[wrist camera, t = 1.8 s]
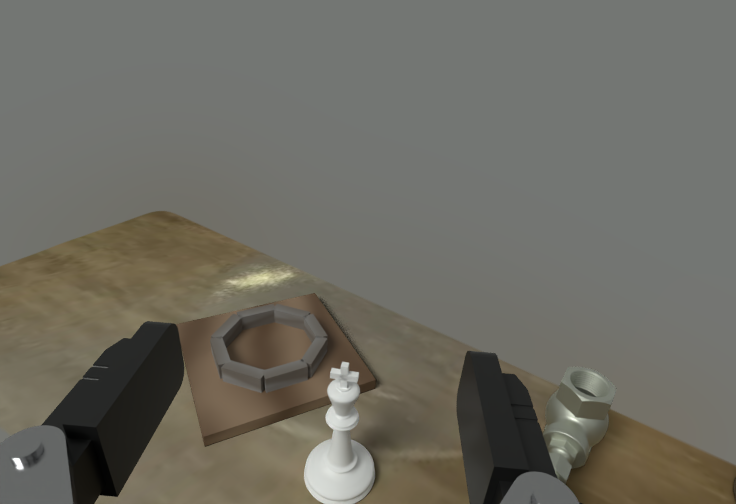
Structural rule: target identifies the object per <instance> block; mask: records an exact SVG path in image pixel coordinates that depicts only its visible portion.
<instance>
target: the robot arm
mask: <svg viewBox="0 0 736 504" xmlns="http://www.w3.org/2000/svg"><path fill="white" fill-rule="evenodd" d="M183 376H184V362H183V356H182V350H181V343H180V337H179V331H178V327H177V326H176V324H172V323H161V322H150V321H147V322H145V323H143V325H142V326H141V327H140V328H139V329H138V331H137V332H136V333H135V334H134V336H133V337H132V338H131V339H128V338H123V339H122V340H120V341H119V342H117V343H115V344H114V345H112V346H111V347H109V348H108V349H106V350H105V351H104V352H103V354H102V355H101V356H100V357H99V358H98V359H97V361H96V362H95V363H94V364H93V367H91V368H90V369H89V370H88V371H87V372H86V373H85V375H84V376H83V379H82V380H79V382H78V383H77V384H76V385H75V386H74V388H73V389H72V390H71V391H70V392H69V393H68V395H67V396H66V397H65V398H64V399H63V400H62V402H61V403H60V404H59V405H58V406H57V407H56V409H55V410H54V411H53V412H52V413H51V415H50V416H49V417H48V418H47V419H46V420H45V422H44V423H43V424H42V425H41V426H35V427H31V428H27V429H24V430H22V431H19V432H17V433H15V434H13V435H12V436H10V437H8V438H7V439H5V440H4V441H3V442H1V443H0V504H94V503H95V501H96V500H97V498H98V496H99V495H104V496H115V497H118V495H119V494H120V492H121V490H122V488H123V487H124V485H125V483H126V481H127V480H128V478H129V476H130V474H131V473H132V471H133V469H134V467H135V466H136V464H137V462H138V460H139V459H140V457H141V455H142V453H143V452H144V450H145V448H146V446H147V445H148V443H149V441H150V439H151V438H152V436H153V434H154V432H155V431H156V429H157V427H158V425H159V424H160V422H161V420H162V418H163V417H164V415H165V413H166V411H167V410H168V408H169V406H170V404H171V403H172V401H173V399H174V397H175V396H176V394H177V392H178V390H179V389H180V386H181V384H182V381H183ZM457 418H458V425H459V432H460V439H461V446H462V453H463V460H464V467H465V474H466V481H467V487H468V494H469V501H470V504H580V503H579V502H578V500H577V498H576V496H575V495H574V493H573V492H572V491H571V490H570V489H569V488H568V487H567V486H566V485H565V484H564V483H563V482H561V481H560V480H559V479H558V478H557V475H556V473H555V470H554V467H553V464H552V461H551V458H550V455H549V452H548V449H547V446H546V443H545V440H544V437H543V434H542V431H541V428H540V425H539V423H538V422H537V420H538V419H537V416H536V413H535V410H534V409H533V404H532V402H531V399H530V396H529V393H528V390H527V388H526V387H525V386H524V385H523V384H522V382H521V381H520V380H519V379H518V378H517V376H516V375H515V374H505V373H502V372H501V368H500V365H499V361H498V358H497V355H496V354H495V353H486V352H475V351H467V353H466V356H465V361H464V365H463V370H462V374H461V379H460V384H459V388H458V394H457ZM733 490H734V494H735V499H736V478H735V480H734V489H733Z"/></svg>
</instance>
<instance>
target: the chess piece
mask: <svg viewBox="0 0 736 504" xmlns="http://www.w3.org/2000/svg"><path fill="white" fill-rule="evenodd" d="M330 378H332V379H335V380H333V381H332V382H331V383H330V384H329V386H328V389H327V393H328V396H329V399H330V401H331V403H332V406H331V407H330V408H329V409H328V411H327V413H326V422H327V424H328V425H329V426H330V427H331V428H332V429H334V430H333V435H332V439H329V440H326V441H324V442H322V443H320V444H319V445H317V446H316V447H315V448H314V449H313V450H312V451H311V453H310V454H309V456H308V458H307V461H306V465H305V470H304V480H305V484H306V486H307V489H308V490H309V492H310V493H311V494H312V496H313V497H314V498H316V499H317V500H318V501H320V502H322V503H324V504H355V503H357V502H358V501H360V500H362V499H363V498H364V497H365V496H366V495H367V494H368V493H369V491H370V490H371V488H372V486H373V483H374V480H375V469H374V462H373V459H372V456H371V454H370V453H369V451H368V450H367V449H366V448H365V447H364V446H363V445H361V444H360V443H358V442H356V441H354V440H351V435H350V430H351V429H353V428H354V427H355V426H356V425H357V424H358V421H359V414H358V411H357V410H356V408H355V407H354V404H355V402H356V401H357V399H358V397H359V394H360V387H359V385H358V384H357V382H358V379H359V372H354V371H349V363H348V362H342V364H341V369H336V368H332V369H331V372H330Z"/></svg>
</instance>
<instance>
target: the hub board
mask: <svg viewBox="0 0 736 504" xmlns="http://www.w3.org/2000/svg"><path fill="white" fill-rule="evenodd" d="M176 325H177V327H178V331H179V337H180V343H181V348H182V352H183V356H184V361H185V365H186V369H187V373H188V378H189V382H190V386H191V390H192V395H193V399H194V403H195V407H196V411H197V416H198V420H199V424H200V428H201V433H202V437H203V441H204V445H205V446H208V445H211V444H213V443H216V442H219V441H222V440H225V439H228V438H231V437H234V436H237V435H240V434H243V433H246V432H249V431H252V430H254V429H257V428H260V427H263V426H266V425H269V424H272V423H275V422H278V421H281V420H284V419H287V418H290V417H293V416H296V415H298V414H301V413H304V412H307V411H310V410H313V409H316V408H319V407H322V406H325V405H328V404H331V401H330V399H329V396H328V393H327V389H328V386H329V384H330V383H331V382H332V381H333V380H335V379H332V378H330V372H331V369H332V368H336V369H341V364H342V362H348V363H349V371H354V372H359V379H358V382H357V384H358V385H359V387H360V393H363V392H366V391H369V390H372V389H375V385H376V379H375V378H374V376H373V375H372V373H371V372H370V371H369V369H368V368H367V366H366V365H365V363H364V362H363V361H362V359H361V358H360V356H359V355H358V354H357V352H356V351H355V349H354V348H353V346H352V345H351V344H350V342H349V341H348V339H347V338H346V336H345V335H344V334H343V332H342V331H341V329H340V328H339V327H338V325H337V324H336V322H335V321H334V319H333V318H332V317H331V315H330V314H329V312H328V311H327V310H326V308H325V307H324V305H323V304H322V302H321V301H320V300H319V298H318V297H317V295H316V294H315V293H313V294H309V295H304V296H300V297H295V298H291V299H286V300H282V301H278V302H273V303H269V304H264V305H260V306H255V307H251V308H247V309H242V310H238V311H233V312H229V313H224V314H220V315H216V316H211V317H207V318H202V319H198V320H193V321H189V322H185V323H180V324H176Z"/></svg>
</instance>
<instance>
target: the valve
mask: <svg viewBox="0 0 736 504" xmlns="http://www.w3.org/2000/svg"><path fill="white" fill-rule="evenodd" d="M616 389H617V388H616V387H615V386H614V385H613V384H612V383H611V382H610V381H609V380H608V379H607V378H606V377H605V376H603V375H602V374H601V373H599V372H597V371H595V370H593V369H589V368H584V367H568V369H567V371H566V373H565V375H564V377H563V379H562V381H561V384H560V386H559V389H558V390H557V391H556V392H555V393H554V394H553V395H552V396H551V397H550V399H549V401H548V403H547V406H546V412H545V416H546V422H547V424H546V426H545V428H544V431H543V437H544V440H545V443H546V446H547V449H548V452H549V455H550V458H551V461H552V464H553V467H554V470H555V473H556V475H557V478H558V479H559V480H560V481H561V482H563V483H564V484H565V483H566V481H567V478H568V476H569V473H570V470H571V468H578V467H581V466H584V465H585V463H586V460H587V458H588V456H589V454H590V451H591V448H592V446H594V445H596V444H597V443H598V442H600V441H601V439H602V438H603V437H604V435H605V434H606V431H607V428H608V423H609V418H608V411H609V409H610V407H611V404H612V401H613V398H614V395H615V392H616ZM580 504H582V503H580Z"/></svg>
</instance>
